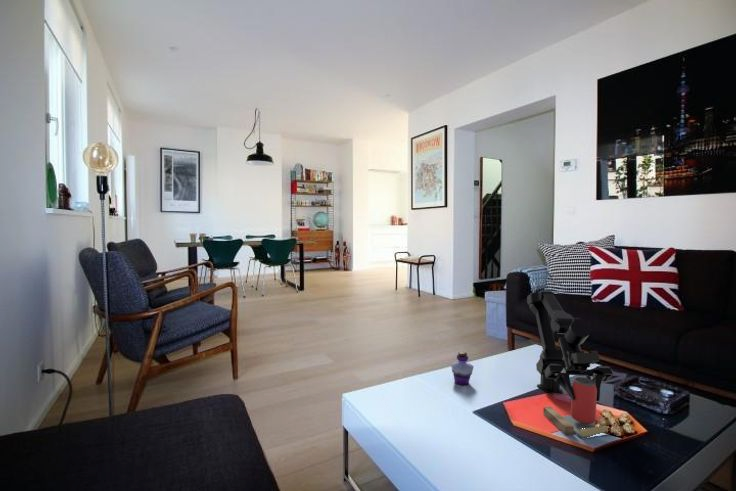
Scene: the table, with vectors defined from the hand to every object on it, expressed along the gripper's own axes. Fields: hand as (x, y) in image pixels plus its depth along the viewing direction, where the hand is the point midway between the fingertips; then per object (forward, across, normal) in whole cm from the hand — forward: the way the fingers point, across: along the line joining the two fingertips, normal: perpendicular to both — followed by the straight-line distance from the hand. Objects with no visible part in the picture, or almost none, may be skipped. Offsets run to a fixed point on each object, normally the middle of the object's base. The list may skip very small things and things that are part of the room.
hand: (586, 400), depth 112 cm
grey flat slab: (+6, 0, +7) cm, 9 cm away
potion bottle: (-14, -32, +27) cm, 44 cm away
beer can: (+4, 0, +6) cm, 7 cm away
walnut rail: (+5, -7, +8) cm, 12 cm away
